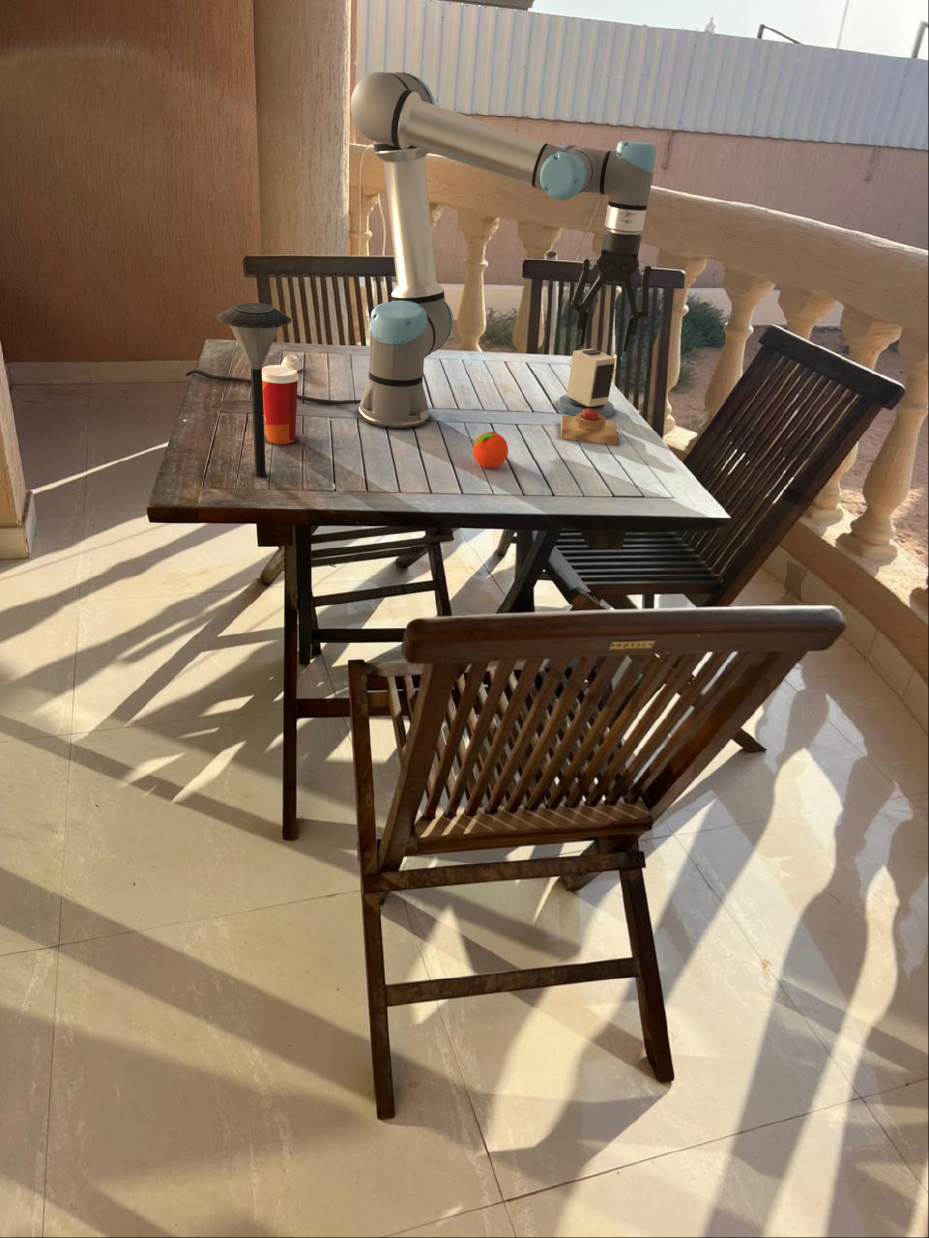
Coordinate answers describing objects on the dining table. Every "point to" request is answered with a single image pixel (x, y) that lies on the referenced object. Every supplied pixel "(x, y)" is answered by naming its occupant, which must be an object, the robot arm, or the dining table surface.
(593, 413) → the button
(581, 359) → the panel
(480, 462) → the clementine
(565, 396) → the swivel base
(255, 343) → the solar garden light
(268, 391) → the paper cup
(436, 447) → the dining table surface
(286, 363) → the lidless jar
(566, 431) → the button block
